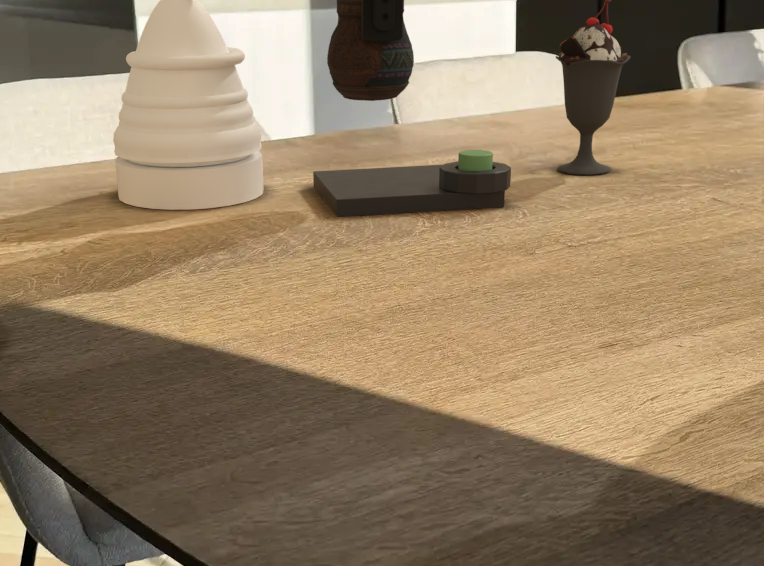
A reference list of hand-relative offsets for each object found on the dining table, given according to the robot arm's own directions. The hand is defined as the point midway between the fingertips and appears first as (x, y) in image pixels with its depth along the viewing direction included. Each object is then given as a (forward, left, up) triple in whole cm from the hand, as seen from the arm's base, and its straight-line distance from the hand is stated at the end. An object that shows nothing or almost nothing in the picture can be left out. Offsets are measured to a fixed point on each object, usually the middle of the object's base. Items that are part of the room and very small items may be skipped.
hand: (372, 34), depth 92 cm
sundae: (-22, -5, -13) cm, 26 cm away
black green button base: (-3, +2, -13) cm, 13 cm away
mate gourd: (0, 0, -5) cm, 5 cm away
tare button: (-7, +5, -11) cm, 14 cm away
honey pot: (+15, -4, -13) cm, 21 cm away
